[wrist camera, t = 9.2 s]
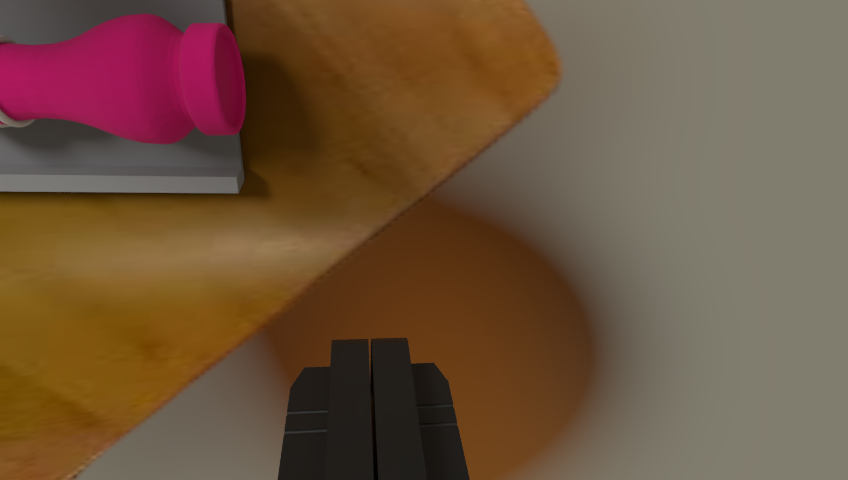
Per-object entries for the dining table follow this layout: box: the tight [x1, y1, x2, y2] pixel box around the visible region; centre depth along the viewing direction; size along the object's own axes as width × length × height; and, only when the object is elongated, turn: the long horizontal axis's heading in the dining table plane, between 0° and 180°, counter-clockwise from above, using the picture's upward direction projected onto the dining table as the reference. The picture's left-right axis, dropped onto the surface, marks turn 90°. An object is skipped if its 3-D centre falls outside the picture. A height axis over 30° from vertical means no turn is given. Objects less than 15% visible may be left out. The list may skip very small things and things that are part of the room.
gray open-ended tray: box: [0, 0, 245, 193], centre depth 32 cm, size 21×16×2 cm
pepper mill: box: [0, 13, 246, 144], centre depth 30 cm, size 7×7×20 cm
